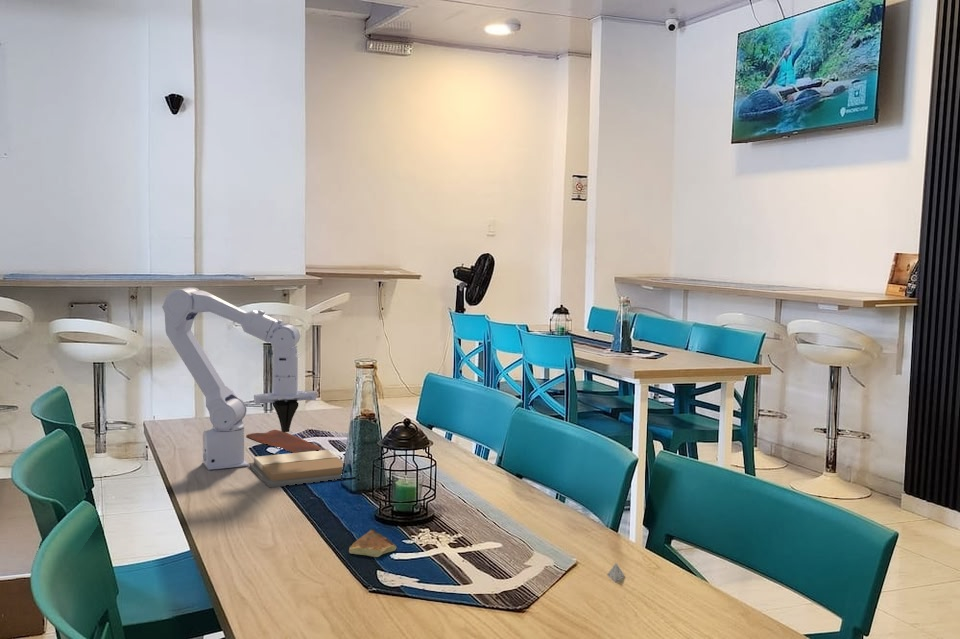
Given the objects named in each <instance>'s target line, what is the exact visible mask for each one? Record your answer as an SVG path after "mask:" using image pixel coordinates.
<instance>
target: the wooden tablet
mask: <svg viewBox="0 0 960 639" xmlns="http://www.w3.org/2000/svg"><path fill="white" fill-rule="evenodd" d="M245 436H246V437H247V438H248V439H251V440H253V441H255V442H258V443H261V444H264V445H266V444H268V445H267V446H269V445H271V446H270V447H272V446H275V447H280V448H283V449H285V450H287V451H290V452H289V453H291V452H293V453H299V452H309V451H315V450H319V449H323V448H322V447H321V448H320V446H318V445H316V444H314V443H312V442H309V441H308V440H305V439H302V438H301V437H298V436H296V435H293V434H291V433H289V432H282V431H281V430H278V429H272V430H269V431H267V432H253V433H248V434H246V435H245ZM275 447H274V448H275ZM287 451H286V452H287Z"/></svg>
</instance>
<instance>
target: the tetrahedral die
mask: <svg viewBox="0 0 960 639" xmlns="http://www.w3.org/2000/svg"><path fill="white" fill-rule="evenodd" d="M606 576H607V577H608V578H610V580H612V581H613V582H614V583H615V582H619V581H620V580H623V579H624V578H626V575H625V574H624V572H623V571H622V569H621V568H620V567H619V565H618V563H616V562H615V564H614V565H613V566H612V567H611V569H610V570H609V571H608V573H607V574H606Z"/></svg>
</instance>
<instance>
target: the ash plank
mask: <svg viewBox="0 0 960 639" xmlns="http://www.w3.org/2000/svg"><path fill="white" fill-rule="evenodd" d="M331 458H339V457H338V456H336V454H334V453H332V452H331V451H329V450H328V449H323V450H319V451H309V452H299V453H291V452H287V453H282V454H278V453H277V454H270V455H269V454H268V455H261V456H258V455H257V456H254V457H253V462H254V463H255V464H256V465H257V466H258V467H259V468H260V469H261V470H262V471H263V465H272V464H282V463H292V462H302V461H311V460H321V459H331Z"/></svg>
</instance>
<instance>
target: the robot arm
mask: <svg viewBox="0 0 960 639" xmlns="http://www.w3.org/2000/svg"><path fill="white" fill-rule="evenodd" d="M161 308H162V310H163V313H164V325H165V334H166V336H167V338H168V339H169V341H170V343H171V344H172V346H173V347H174V349H175V350H176V352H177V354H178V356H180V358H181V360H182V362H183V364H184V365H185V366H186V368H187V370H188V372H189V373H190V376H192V378H193V380H194V381H195V383H196V384H197V386H198V388H199V389H200V390H201V392H202V393H203V395H204V398H205V407H206V408H207V409H206V410H207V411H208V413H209V420H210V423H211V424H212V428H211V429H204V431H203V433H202V464H203V465H204V466H205V467H206V468H207V470H208V471H211V470H221V469H230V468H240V467H249V463H250V462H249V463H248V461H247V460H246V459H245V424H244V423H243V419H244V418H245V417H246V415H247V410H248V409H247V404H246V403H245V401H244V400H242V399H241V398H240V397H238V396H237V395H236V394H235V393H234V391H233V390H232V389H231V388H229V387H228V386H226V385H225V383H224V380H222V378H221V375H219V373H218V372H217V370H216V368H215V367H214V365H213V364H212V362H211V360H210V359H209V357H208V355H207V354H206V352H205V351H204V349H203V347H202V346H201V344H200V343H199V341H198V339H197V338H196V336H195V335H194V333H193V331H192V327H193V324H194V321H195V318H196V316H197V315H198V314H199V313H212V314H214V315H217V316H219V317H221V318H224V319H226V320H230V321H231V322H234V323H237V324H239V325H240V326H241V328H242V330H243V333H246V334H247V335H251V336H253V337H255V338H257V339H258V340H261V341H264V342H265V343H270V344H271V347H272V348H273V357H272V392H267V393H259V394H253V404H255V405H260V404H269V403H271V404H272V406H273V408H274V411H275V413H276V414H277V418H278V420H279V424H280V431H282V432H286V433H290V430H291V424H292V420H293V418H294V416H295V413H296V412H297V410H298V407H299V402H301V401H316V400H317V393H316V391H314V390H309V391H308V390H305V391H304V390H298V377H299V376H298V372H299V370H298V368H299V367H298V360H299V359H298V345H297V344H298V343H299V341H300V338H301V336H300V331H299V329H298V328H297V327H296V326H295V325H293V324H292V323H289V322H288V323H284V320H282V319H281V318H280V319H278V320H277V319H276V318H273V317H272V316H271V317H270V316H269V315H267V314H265V313H266V311H264V310H263V309H259V310H255V309H254V310H250V311H249V312H247V311H246V310H243V309H241V308H239V307H237V306H236V305H234V304H232V303H231V302H230V303H229V302H228V301H226V300H224V299H222V298H220V297H218V296H216V295H214V294H212V293H210V292H208V291H206V290H200V289H199V288H197V287H195V286H188V287H184V288H175V289H173V290H170V291H169V292H168V293H167V295H166V297H165V299H164V302H163V305H162V306H161ZM298 401H299V402H298Z"/></svg>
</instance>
